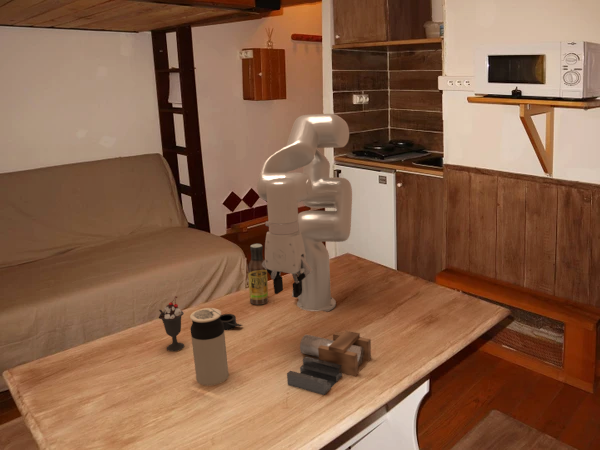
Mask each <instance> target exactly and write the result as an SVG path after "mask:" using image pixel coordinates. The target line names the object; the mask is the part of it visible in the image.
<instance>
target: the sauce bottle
mask: <svg viewBox="0 0 600 450" xmlns="http://www.w3.org/2000/svg"><path fill="white" fill-rule="evenodd" d="M249 248H250V249H249V250H250V255H251V256H250V260H249V262H248V265H247V268H248V272H247V275H248V276H247V277H248V291H249V293H248V294H249V302H250V303H251V304H252V305H257V306H258V305H259V306H261V305H264V304H267V303H268V301H269V299H268V298H269V286H268V272H267V270H266V269H265V268H264V267H263V266H262V263H263V261H264V260H265V259H264V257H263V250H264V247H263V245H262V244H261V243H253V244H251V245H250V247H249Z"/></svg>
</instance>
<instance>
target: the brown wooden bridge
mask: <svg viewBox="0 0 600 450" xmlns="http://www.w3.org/2000/svg"><path fill="white" fill-rule="evenodd" d="M360 334H361V333H360V332H356V331H355V332H354V331H351V330H344V331H343V332H339V331H334V332H333V334H332V340H334V342H333V343H332V344H331V345H330V346H329V347H328V346H323V345H321V346H319V347H318V353H319V357H318V359H319V360H323V361H327V362H331V363H335V364H339V365H342V375H348V376H351V377H356V376H357V375H358V374H359V373H360V372H361V371H362V370H363V368H364V367H366V365H367V364H368V363H369V361H370V360H371V359H372V351H371V350H372V347H371V346H372V345H371V341H372V339H371V338H367V337H363V336H362V337H361V335H360ZM351 345H356V346H361V347H363V348H364V358H363V362H362V364H361V365H360V366H359V367H358V360H357V353H354V352H349V351H346V350H347V349H348V348H349V347H350V346H351Z"/></svg>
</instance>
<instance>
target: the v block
mask: <svg viewBox="0 0 600 450" xmlns="http://www.w3.org/2000/svg"><path fill="white" fill-rule="evenodd" d="M299 371H300V372H297V371H294V370H293V371H292V370H289V371H288V372H287V373H286V378H287V381H286V382H287V386H291V387H294V388H297V389H301V390H304V391H307V392H312V393H316V394H319V395H323V396H325V395H327V393H328V392H329V391H330V390H332V388H333V387H334V386H335V385H336V383H338V381H339V380H340V379H341V378H343V373H342V365H339V364H335V363H331V362H327V361H323V360H319V358H313V357H310V356H305V357H303V358H302V365H301V366H300V367H299Z"/></svg>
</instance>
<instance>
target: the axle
mask: <svg viewBox="0 0 600 450" xmlns="http://www.w3.org/2000/svg"><path fill="white" fill-rule="evenodd" d="M333 342H334V340H333V339H329V338H324V337H320V336H316V335H311V334H304V335H303V336H302V337H301V340H300V344H299V350H300V353H301V354H304V355H308V356H312V357H316V358H319V353H318V347H319V346H321V345H323V346H328V347H329V346H330V345H331V344H332V343H333ZM346 351H349V352H354V353H357V360H358V367H359V366H360V365H361V364H362V362H363V358H364V348H363V347H361V346H356V345H351V346H350V347H349V348H348V349H347V350H346Z"/></svg>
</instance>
